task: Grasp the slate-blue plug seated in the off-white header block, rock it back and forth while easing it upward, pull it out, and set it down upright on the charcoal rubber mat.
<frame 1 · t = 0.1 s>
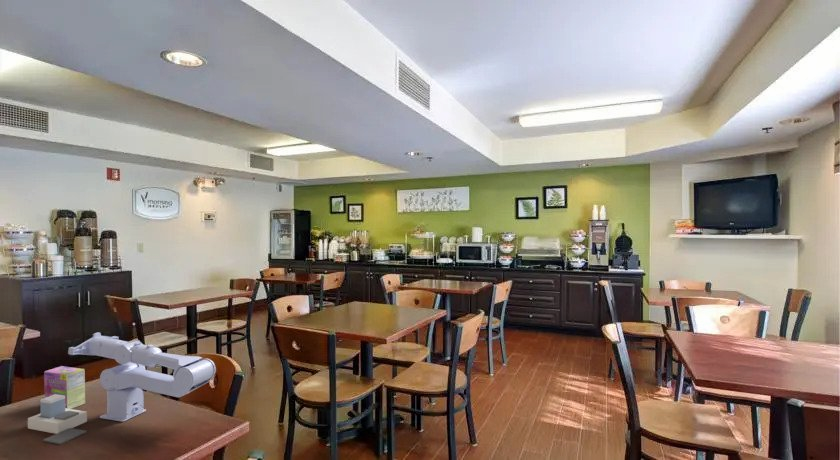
hand: (75, 341, 137), 22 cm above the table, tool horizontal, fingers open, 7 cm apart
plug: (53, 424, 126), resting in header
header: (57, 424, 125), on the table
box: (64, 406, 139), on the table
mat: (65, 436, 119), on the table
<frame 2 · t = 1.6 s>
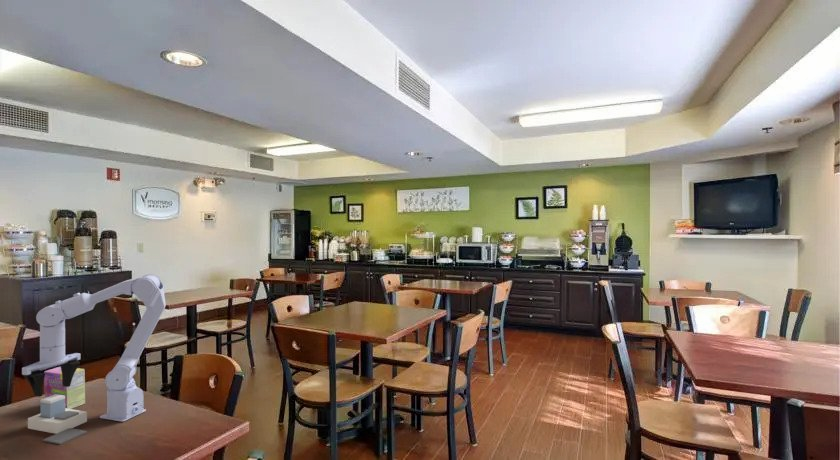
hand: (52, 390, 126), 10 cm above the table, tool pointing down, fingers open, 7 cm apart
nothing on the table moved.
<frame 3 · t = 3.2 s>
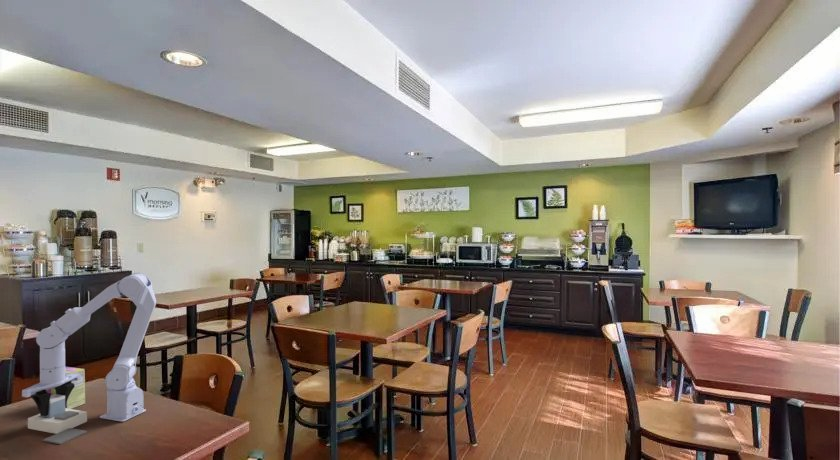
hand: (52, 412, 126), 4 cm above the table, tool pointing down, fingers closed on plug, 4 cm apart
plug: (53, 424, 126), resting in header, touching gripper
everything else where it was.
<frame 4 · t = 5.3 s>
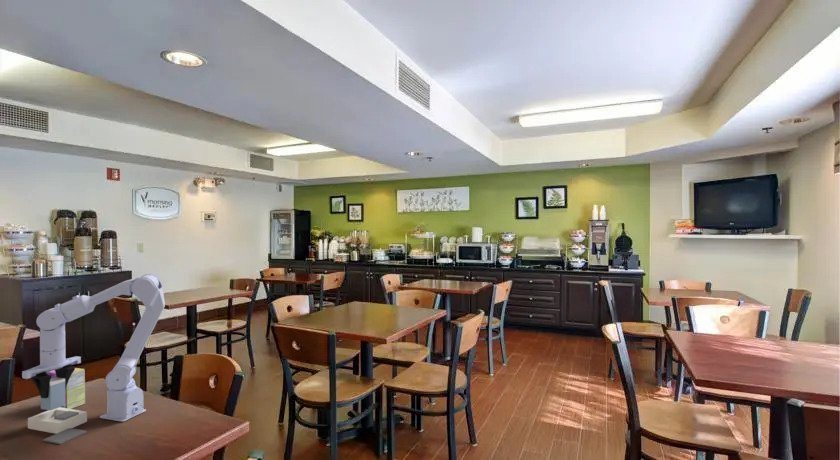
hand: (53, 394, 126), 9 cm above the table, tool pointing down, fingers closed on plug, 4 cm apart
plug: (53, 406, 126), point 5 cm above the table, touching gripper
everything else where it was.
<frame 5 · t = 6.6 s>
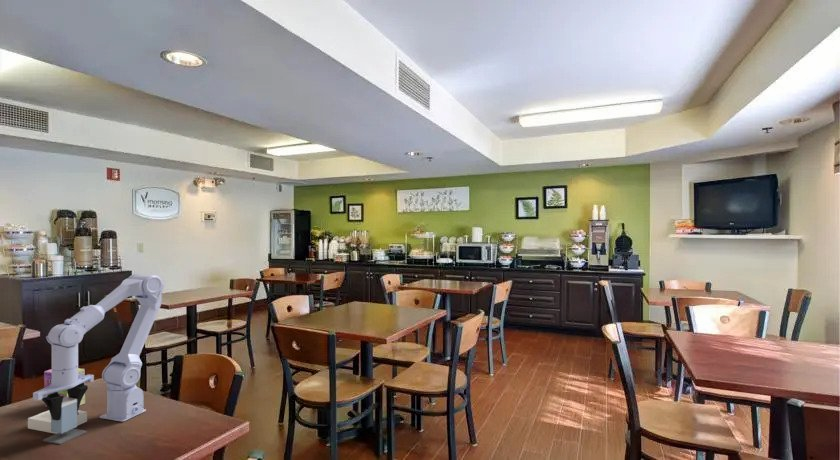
hand: (65, 415, 119), 6 cm above the table, tool pointing down, fingers closed on plug, 4 cm apart
plug: (64, 429, 119), point 2 cm above the table, touching gripper
everything else where it was.
when the fingers open (5 cm above the table, at t = 7.6 s): plug stays where it is, resting on mat.
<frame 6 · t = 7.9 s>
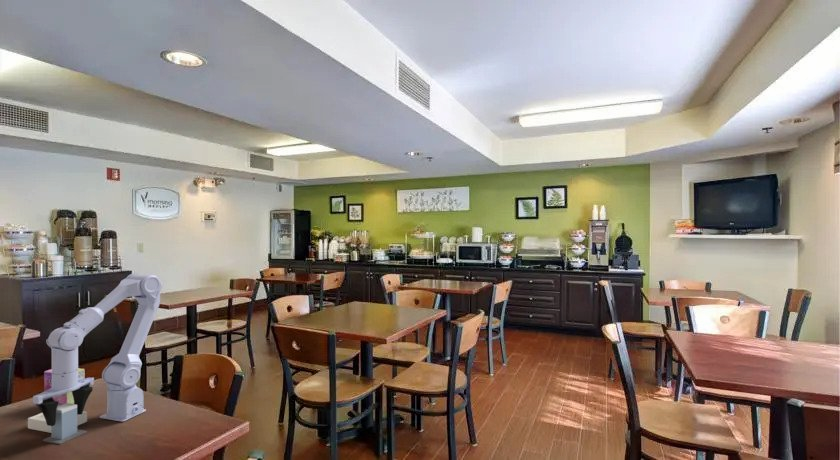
hand: (65, 419, 119), 5 cm above the table, tool pointing down, fingers open, 7 cm apart
plug: (64, 435, 119), resting on mat
everything else where it was.
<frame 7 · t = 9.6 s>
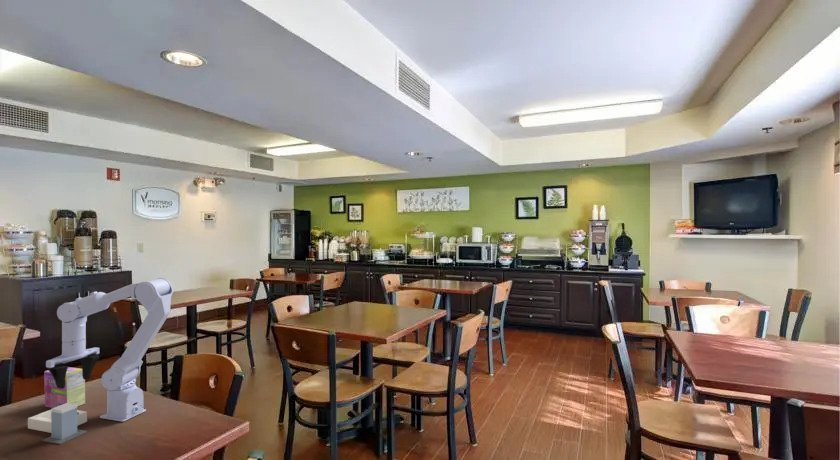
hand: (74, 383, 132), 10 cm above the table, tool pointing down, fingers open, 7 cm apart
nothing on the table moved.
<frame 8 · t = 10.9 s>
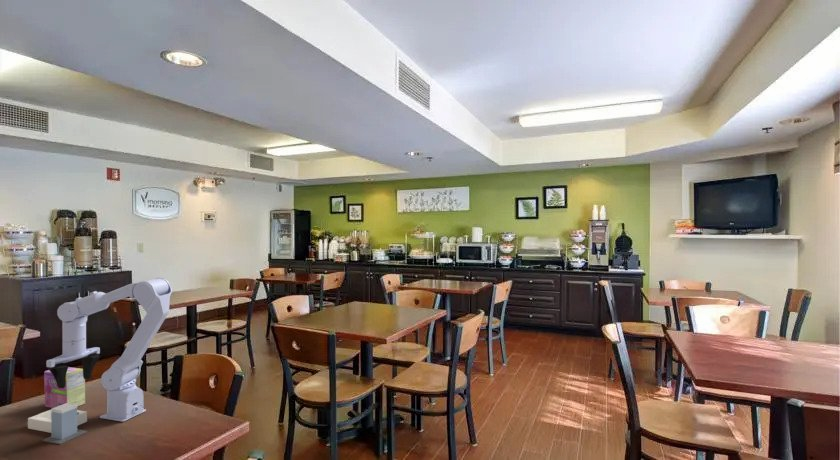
hand: (74, 383, 132), 10 cm above the table, tool pointing down, fingers open, 7 cm apart
nothing on the table moved.
at the end: plug inside the target area on the mat (0.3 cm from its centre), point 0.4 cm above the mat's base; plug tilted 0°; plug touching mat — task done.
